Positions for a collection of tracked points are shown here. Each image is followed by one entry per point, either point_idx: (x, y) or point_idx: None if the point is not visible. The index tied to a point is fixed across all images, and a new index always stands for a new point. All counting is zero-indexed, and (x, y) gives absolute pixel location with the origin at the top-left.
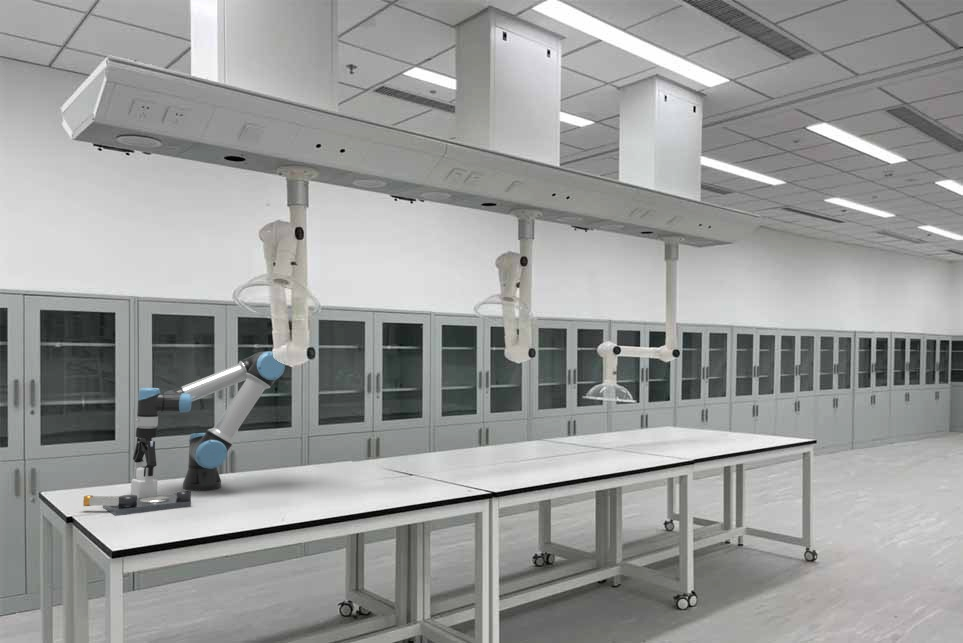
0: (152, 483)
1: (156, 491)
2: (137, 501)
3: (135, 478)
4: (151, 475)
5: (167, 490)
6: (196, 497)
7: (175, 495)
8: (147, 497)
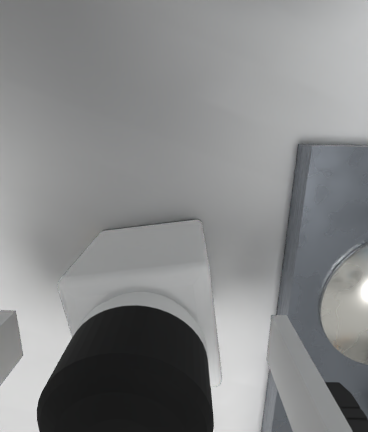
0: (287, 321)
1: (203, 234)
2: (365, 373)
3: (18, 352)
4: (343, 396)
5: (2, 84)
6: (344, 3)
7: (362, 166)
8: (326, 319)
